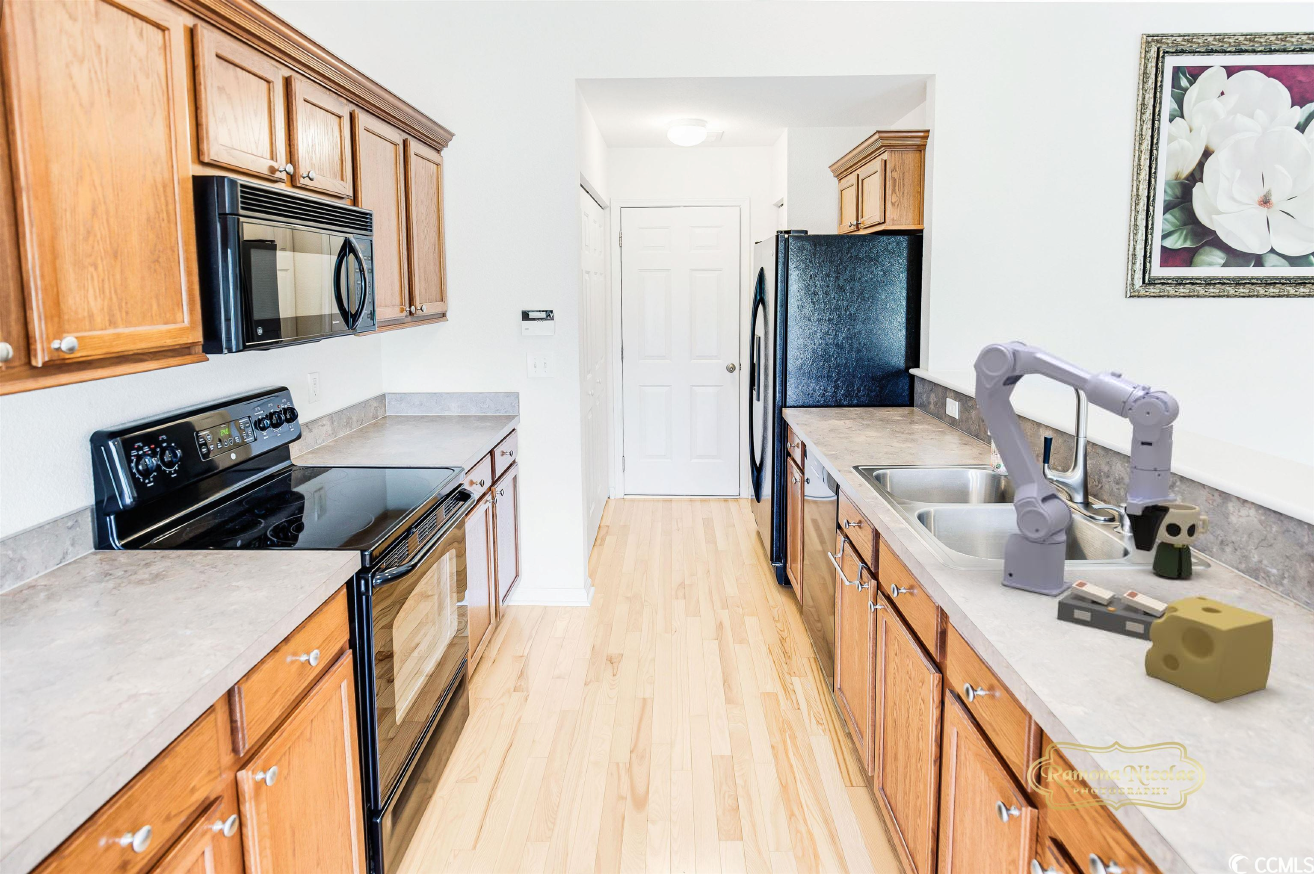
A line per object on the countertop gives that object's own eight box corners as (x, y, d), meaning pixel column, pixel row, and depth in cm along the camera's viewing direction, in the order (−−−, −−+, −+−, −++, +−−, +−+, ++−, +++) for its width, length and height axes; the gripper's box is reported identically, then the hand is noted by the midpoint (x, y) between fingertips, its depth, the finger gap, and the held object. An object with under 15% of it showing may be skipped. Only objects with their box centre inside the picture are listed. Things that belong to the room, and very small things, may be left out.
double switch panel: (1056, 619, 139) (1058, 597, 138) (1075, 606, 145) (1076, 584, 144) (1161, 643, 129) (1163, 620, 128) (1177, 628, 134) (1179, 605, 134)
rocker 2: (1120, 601, 134) (1123, 594, 134) (1128, 595, 137) (1130, 589, 136) (1159, 616, 131) (1161, 610, 130) (1166, 610, 133) (1168, 604, 133)
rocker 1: (1070, 591, 139) (1071, 584, 139) (1078, 585, 142) (1079, 579, 142) (1106, 604, 136) (1107, 598, 135) (1113, 598, 138) (1115, 592, 138)
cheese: (1143, 674, 119) (1148, 604, 117) (1196, 660, 123) (1202, 592, 121) (1217, 706, 109) (1224, 630, 108) (1273, 689, 113) (1280, 616, 112)
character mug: (1147, 580, 157) (1153, 510, 155) (1132, 568, 164) (1137, 501, 162) (1213, 582, 155) (1219, 511, 153) (1194, 570, 162) (1200, 502, 160)
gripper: (1164, 477, 132) (1158, 564, 134) (1190, 464, 142) (1184, 544, 144) (1114, 472, 137) (1108, 555, 139) (1143, 459, 147) (1137, 537, 149)
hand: (1144, 549), depth 142 cm, fingers closed
